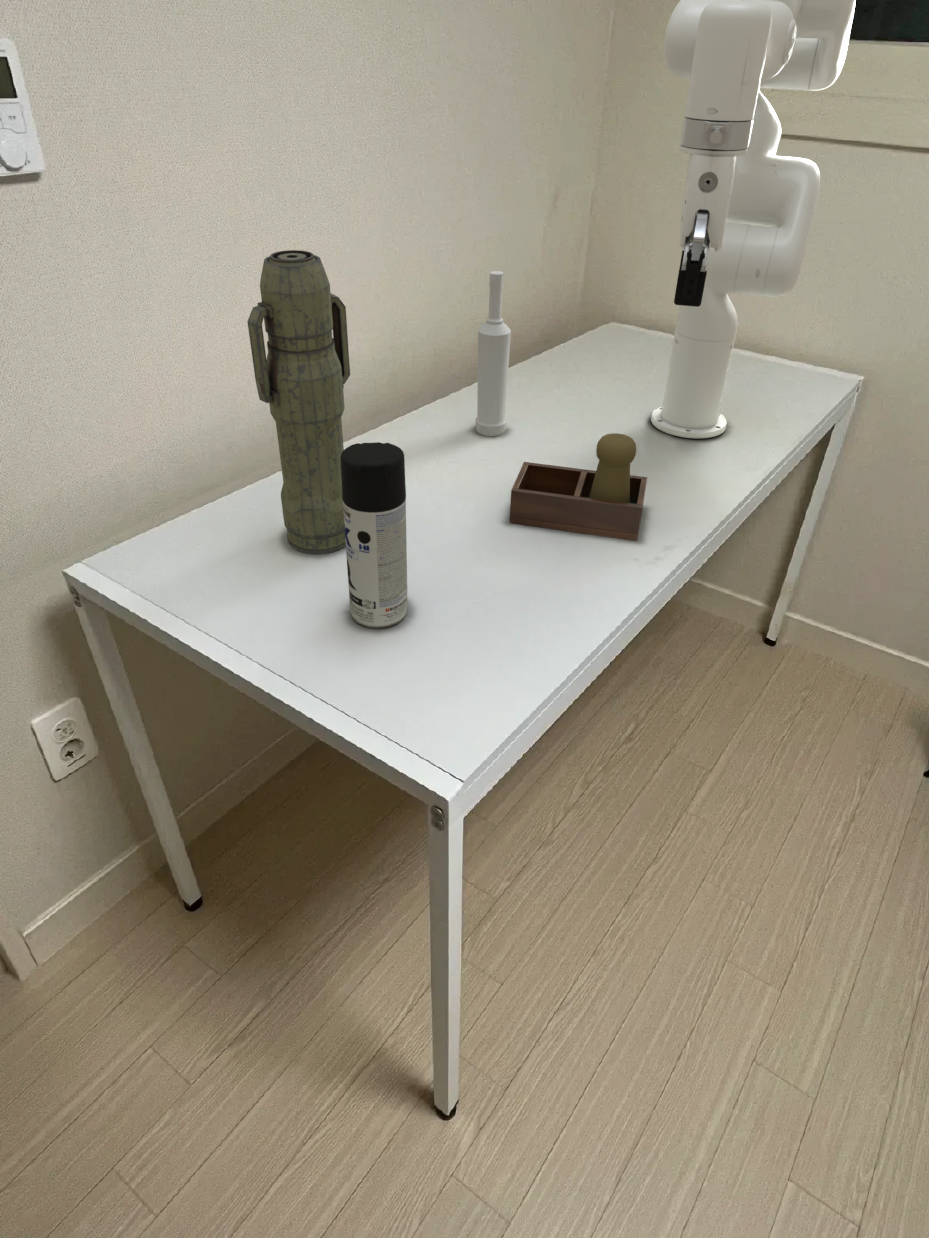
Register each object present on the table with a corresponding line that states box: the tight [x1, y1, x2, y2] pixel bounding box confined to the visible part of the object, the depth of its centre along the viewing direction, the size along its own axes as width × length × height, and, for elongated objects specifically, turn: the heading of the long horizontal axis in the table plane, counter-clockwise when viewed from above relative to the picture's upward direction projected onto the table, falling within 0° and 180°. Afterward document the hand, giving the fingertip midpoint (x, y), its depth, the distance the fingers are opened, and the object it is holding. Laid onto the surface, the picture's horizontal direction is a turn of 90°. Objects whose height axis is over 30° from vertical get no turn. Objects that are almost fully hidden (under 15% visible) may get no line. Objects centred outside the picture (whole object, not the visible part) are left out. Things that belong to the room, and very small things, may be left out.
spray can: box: [341, 441, 409, 629], centre depth 90 cm, size 7×7×20 cm
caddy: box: [508, 461, 648, 541], centre depth 114 cm, size 9×17×5 cm, turn 76°
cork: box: [589, 432, 637, 503], centre depth 110 cm, size 6×6×11 cm
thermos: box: [247, 249, 351, 555], centre depth 99 cm, size 9×12×35 cm
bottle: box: [475, 270, 512, 437], centre depth 131 cm, size 5×5×25 cm
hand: (688, 294), depth 103 cm, fingers open, 9 cm apart
